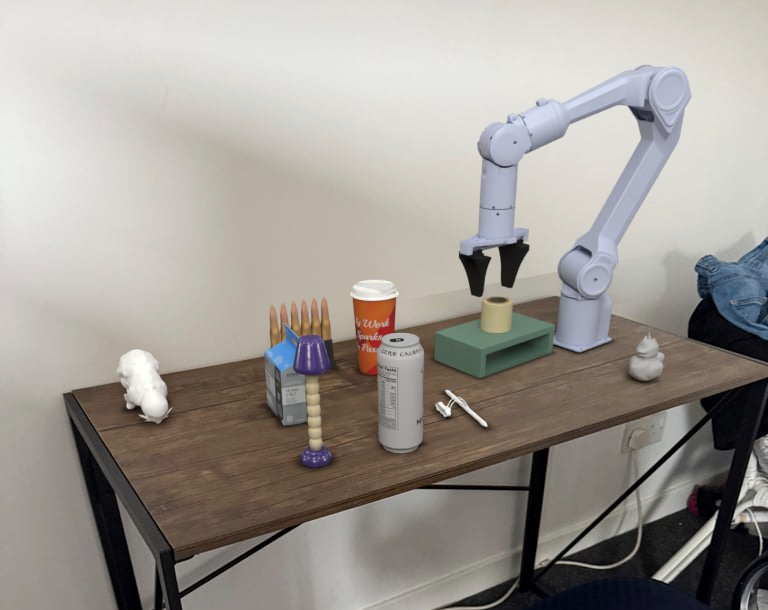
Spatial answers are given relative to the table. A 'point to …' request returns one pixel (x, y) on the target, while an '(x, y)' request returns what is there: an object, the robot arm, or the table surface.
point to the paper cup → (373, 319)
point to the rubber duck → (646, 360)
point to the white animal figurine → (143, 384)
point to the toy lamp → (313, 395)
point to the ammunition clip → (303, 325)
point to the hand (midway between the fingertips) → (492, 291)
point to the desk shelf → (493, 345)
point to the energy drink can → (400, 392)
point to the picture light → (446, 410)
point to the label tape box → (285, 382)
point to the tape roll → (496, 314)
